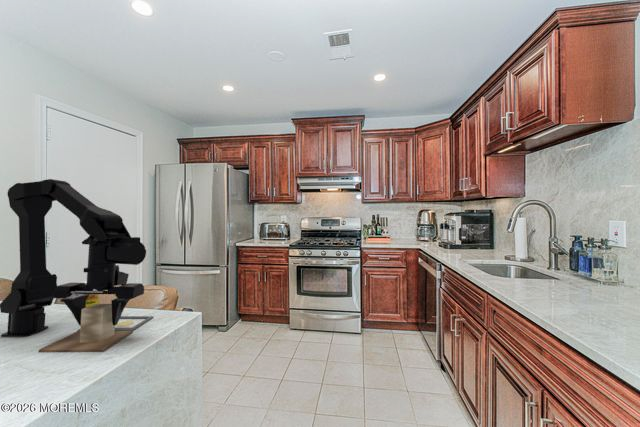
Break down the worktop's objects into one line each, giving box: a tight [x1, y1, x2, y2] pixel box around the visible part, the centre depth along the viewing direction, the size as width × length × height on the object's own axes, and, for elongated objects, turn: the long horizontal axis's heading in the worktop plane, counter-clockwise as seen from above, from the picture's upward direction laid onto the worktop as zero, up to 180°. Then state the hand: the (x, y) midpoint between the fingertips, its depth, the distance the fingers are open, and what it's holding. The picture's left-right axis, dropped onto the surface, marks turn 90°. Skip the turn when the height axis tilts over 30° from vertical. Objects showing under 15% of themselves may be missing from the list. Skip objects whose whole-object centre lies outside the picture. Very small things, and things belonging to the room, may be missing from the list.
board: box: [37, 330, 134, 353], centre depth 72 cm, size 14×12×1 cm
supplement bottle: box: [81, 280, 100, 307], centre depth 95 cm, size 6×6×10 cm
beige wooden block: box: [79, 303, 116, 343], centre depth 73 cm, size 5×5×8 cm
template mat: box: [77, 315, 154, 332], centre depth 85 cm, size 14×12×1 cm
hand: (98, 325), depth 73 cm, fingers open, 8 cm apart
